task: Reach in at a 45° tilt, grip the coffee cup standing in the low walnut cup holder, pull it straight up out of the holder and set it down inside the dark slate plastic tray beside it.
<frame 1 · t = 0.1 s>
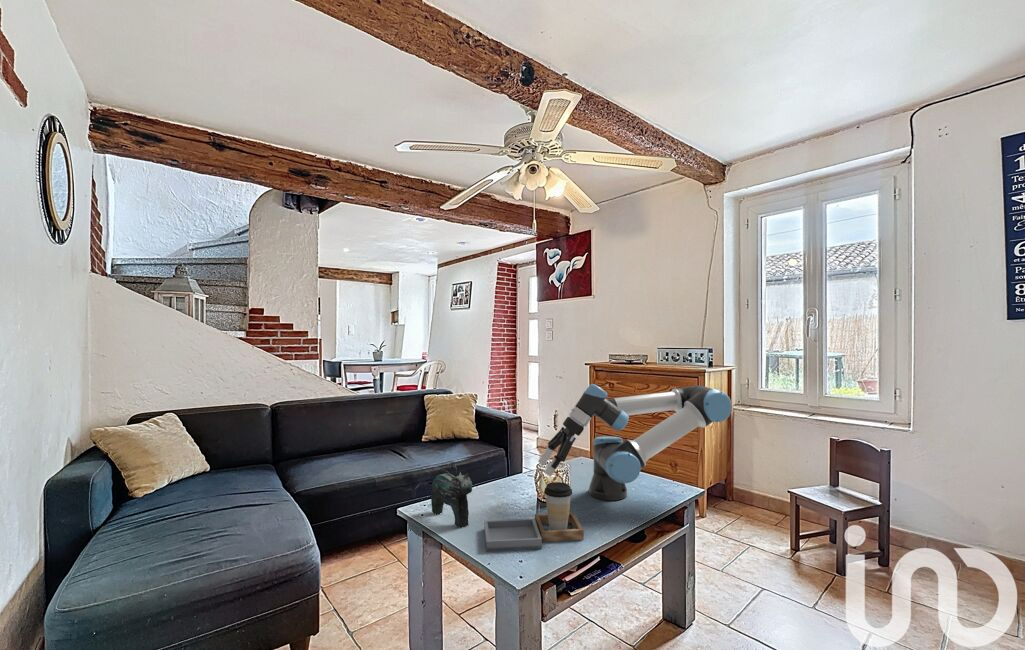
hand: (543, 468, 171), 15 cm above the table, tool tilted 35°, fingers open, 13 cm apart
tray: (511, 538, 148), on the table
dark green textured figure: (449, 520, 162), on the table
coffee cup: (558, 531, 154), resting in cup holder
cup holder: (558, 530, 154), on the table
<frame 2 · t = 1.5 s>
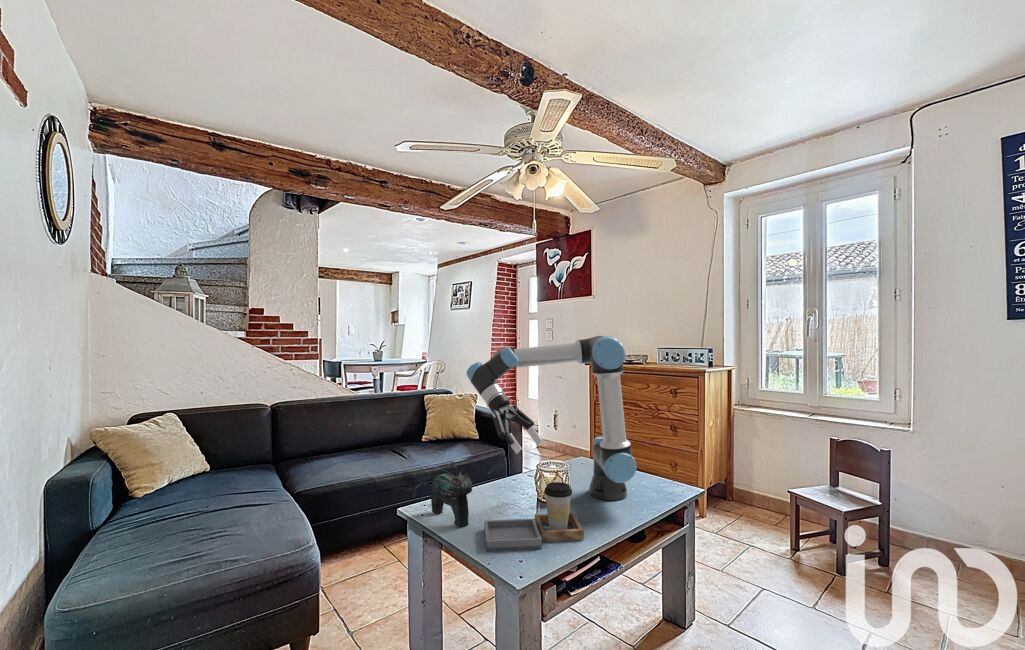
hand: (530, 447, 159), 26 cm above the table, tool tilted 45°, fingers open, 13 cm apart
nothing on the table moved.
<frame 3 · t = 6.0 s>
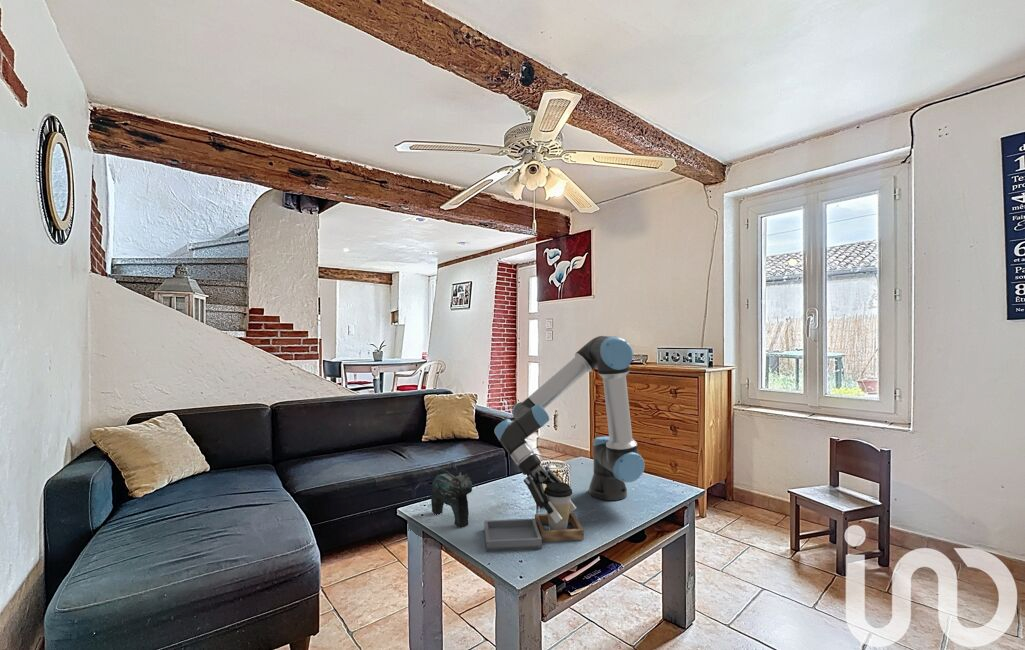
hand: (566, 515, 152), 6 cm above the table, tool tilted 45°, fingers closed on coffee cup, 9 cm apart
coffee cup: (558, 531, 154), resting in cup holder, touching gripper
everything else where it was.
when the fingers open (8 cm above the table, at t = 12.8 s): coffee cup drops 1 cm, resting on tray.
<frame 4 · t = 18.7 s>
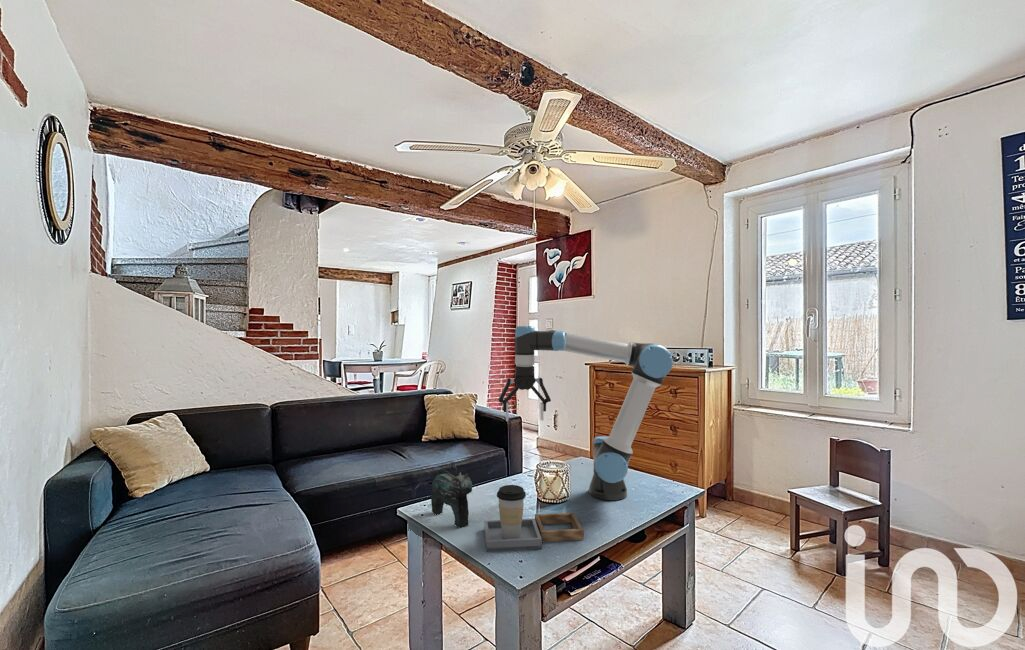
hand: (524, 420, 178), 32 cm above the table, tool pointing down, fingers open, 13 cm apart
coffee cup: (511, 536, 148), point 1 cm above the table, touching tray
everything else where it was.
at the end: coffee cup inside the target area on the tray (0.2 cm from its centre), point 0.8 cm above the tray's base; coffee cup tilted 0°; the gripper is holding nothing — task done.
